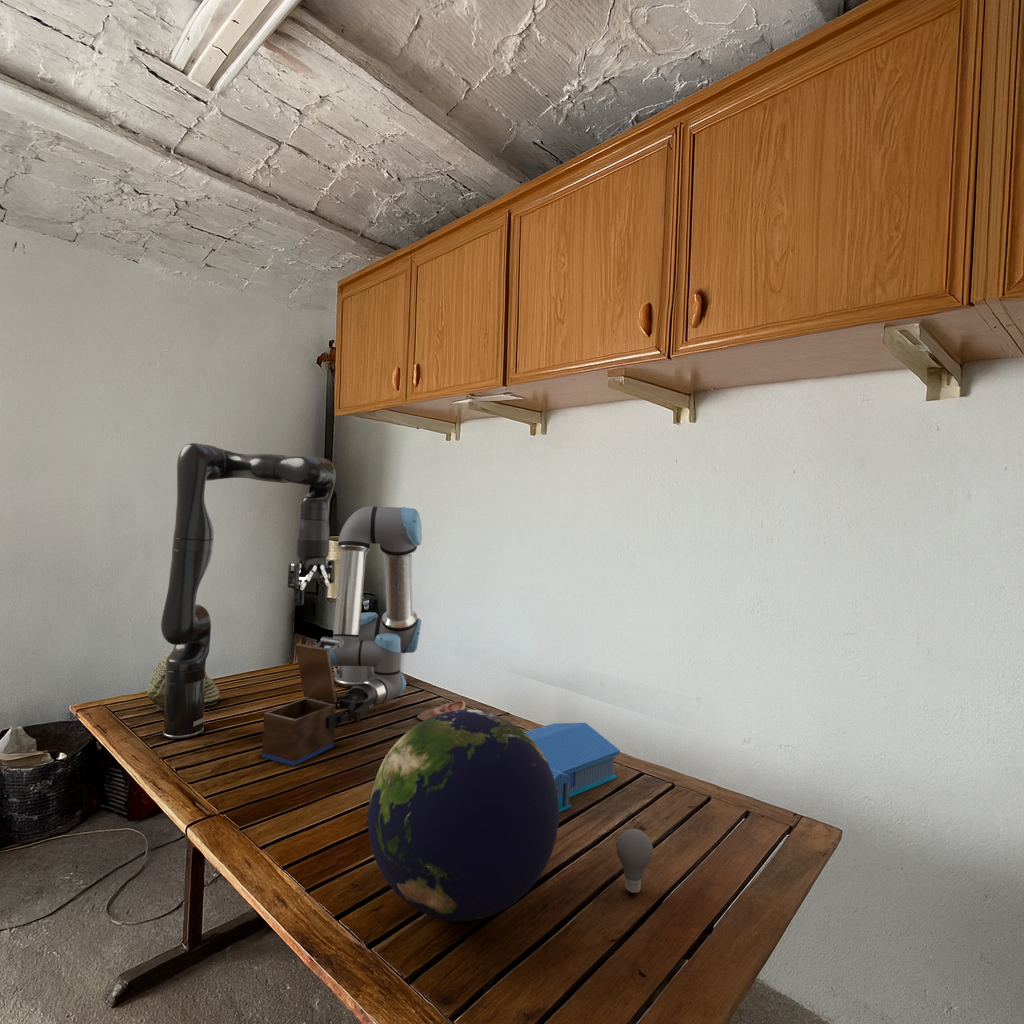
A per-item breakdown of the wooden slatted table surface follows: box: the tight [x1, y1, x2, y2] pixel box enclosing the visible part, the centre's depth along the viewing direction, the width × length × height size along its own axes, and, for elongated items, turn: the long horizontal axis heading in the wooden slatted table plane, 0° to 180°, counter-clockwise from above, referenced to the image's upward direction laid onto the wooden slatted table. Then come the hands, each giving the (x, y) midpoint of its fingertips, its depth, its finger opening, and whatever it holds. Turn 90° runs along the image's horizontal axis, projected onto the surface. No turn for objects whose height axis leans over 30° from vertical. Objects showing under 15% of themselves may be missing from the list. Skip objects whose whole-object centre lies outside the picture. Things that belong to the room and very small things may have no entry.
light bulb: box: [615, 828, 654, 894], centre depth 106 cm, size 6×6×10 cm
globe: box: [367, 709, 560, 922], centre depth 100 cm, size 30×30×30 cm
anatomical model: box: [416, 700, 466, 722], centre depth 185 cm, size 13×4×12 cm
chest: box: [261, 697, 336, 767], centre depth 156 cm, size 14×10×11 cm
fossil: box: [147, 654, 221, 712], centre depth 185 cm, size 9×18×15 cm, turn 132°
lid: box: [294, 636, 344, 703], centre depth 164 cm, size 15×10×9 cm
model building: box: [524, 722, 621, 813], centre depth 143 cm, size 39×24×10 cm, turn 132°
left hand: (311, 603), depth 158 cm, fingers open, 7 cm apart
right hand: (310, 719), depth 160 cm, fingers closed on chest, 10 cm apart
